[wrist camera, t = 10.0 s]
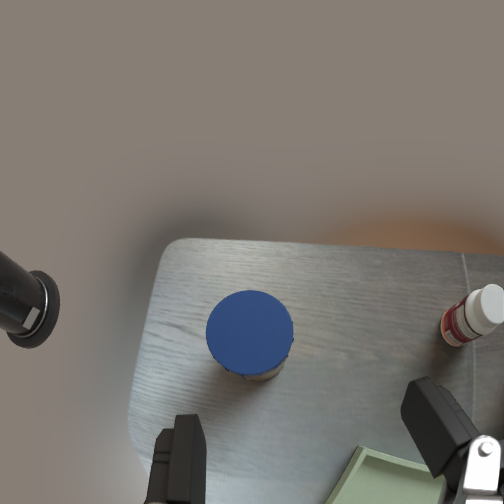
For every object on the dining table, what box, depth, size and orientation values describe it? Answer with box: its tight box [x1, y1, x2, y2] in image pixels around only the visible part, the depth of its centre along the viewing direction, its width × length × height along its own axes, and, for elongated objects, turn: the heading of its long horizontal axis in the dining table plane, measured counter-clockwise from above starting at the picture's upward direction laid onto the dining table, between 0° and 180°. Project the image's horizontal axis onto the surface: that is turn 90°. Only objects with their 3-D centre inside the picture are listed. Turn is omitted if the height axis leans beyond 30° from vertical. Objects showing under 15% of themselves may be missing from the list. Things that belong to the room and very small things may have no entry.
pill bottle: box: [441, 284, 504, 347], centre depth 25 cm, size 5×5×8 cm
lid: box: [206, 290, 294, 377], centre depth 21 cm, size 6×6×2 cm
